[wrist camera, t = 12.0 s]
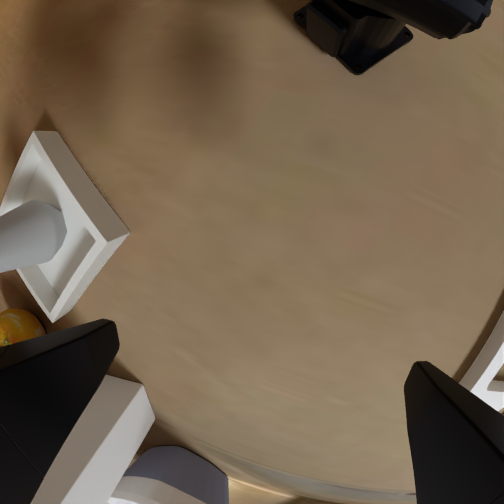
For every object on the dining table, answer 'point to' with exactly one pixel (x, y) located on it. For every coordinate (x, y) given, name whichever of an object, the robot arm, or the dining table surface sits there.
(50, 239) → the salt shaker
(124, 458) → the milk
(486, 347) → the holder
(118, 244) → the dish
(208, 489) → the bowl
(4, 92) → the dining table surface
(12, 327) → the fruit
